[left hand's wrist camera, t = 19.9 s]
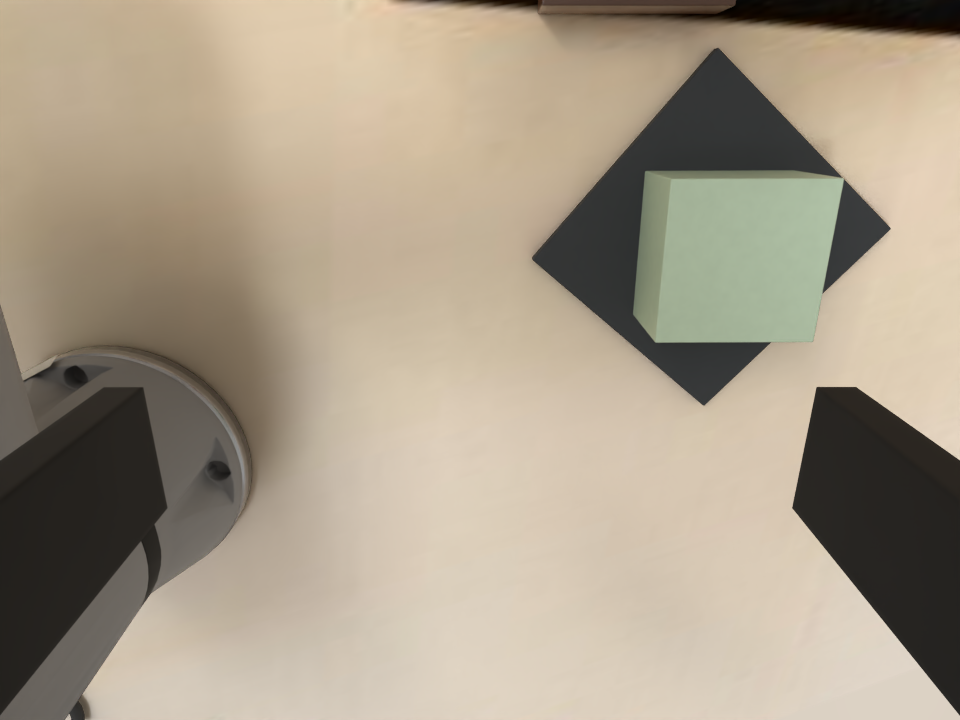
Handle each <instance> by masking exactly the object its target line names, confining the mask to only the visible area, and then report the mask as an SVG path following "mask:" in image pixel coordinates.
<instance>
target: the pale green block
mask: <svg viewBox="0 0 960 720" xmlns="http://www.w3.org/2000/svg"><path fill="white" fill-rule="evenodd" d="M843 182H844V178H840V177H833V176H827V175H821V174H814V173H808V172H801V171H795V170H751V171H645V178H644V190H643V202H642V214H641V226H640V237H639V249H638V261H637V273H636V285H635V297H634V309H633V315H634V316H635V318H636V319H637V320H638V321H639V323H640V324H641V325H642V326H643V328H644V329H645V330H646V331H647V333H648V334H649V335H650V336H651V338H652V339H653V340H654V342H656V343H678V342H813V340H814V334H815V329H816V324H817V319H818V313H819V308H820V303H821V298H822V292H823V287H824V282H825V277H826V271H827V266H828V261H829V256H830V250H831V245H832V240H833V235H834V229H835V224H836V219H837V214H838V209H839V203H840V198H841V193H842V188H843Z"/></svg>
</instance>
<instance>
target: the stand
mask: <svg viewBox="0 0 960 720" xmlns="http://www.w3.org/2000/svg"><path fill="white" fill-rule="evenodd" d="M735 3H736V0H538V14H717V13H719V12H721V11H724V10H726V9H728V8H730V7H732V6H735Z"/></svg>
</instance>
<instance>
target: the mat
mask: <svg viewBox="0 0 960 720" xmlns="http://www.w3.org/2000/svg"><path fill="white" fill-rule="evenodd" d="M751 170H795V171H801V172H808V173H814V174H821V175H827V176H833V177H840V178H842V177H841V176H840V175H839V174H838V173H837V172H836V171H835V170H834V168H833V167H832V166H831V165H830V164H829V163H828V162H827V161H826V160H825V159H824V158H823V157H822V156H821V155H820V154H819V153H818V152H817V151H816V150H815V149H814V148H813V147H812V145H811V144H810V143H809V142H808V141H807V140H806V139H805V138H804V137H803V136H802V135H801V134H800V133H799V132H798V131H797V130H796V129H795V128H794V127H793V126H792V125H791V124H790V122H789V121H788V120H787V119H786V118H785V117H784V116H783V115H782V114H781V113H780V112H779V111H778V110H777V109H776V108H775V107H774V106H773V105H772V104H771V103H770V102H769V101H768V99H767V98H766V97H765V96H764V95H763V94H762V93H761V92H760V91H759V90H758V89H757V88H756V87H755V86H754V85H753V84H752V83H751V82H750V81H749V80H748V79H747V78H746V76H745V75H744V74H743V73H742V72H741V71H740V70H739V69H738V68H737V67H736V66H735V65H734V64H733V63H732V62H731V61H730V60H729V59H728V58H727V57H726V56H725V55H724V53H723V52H722V51H721V50H720V49H719V48H717V49H714V50H713V51H712V52H711V53H710V54H709V56H708V57H707V58H706V59H705V60H704V61H703V62H702V64H701V65H700V66H699V67H698V68H697V69H696V70H695V72H694V73H693V74H692V75H691V76H690V77H689V78H688V80H687V81H686V82H685V83H684V84H683V85H682V86H681V88H680V89H679V90H678V91H677V92H676V93H675V95H674V96H673V97H672V98H671V99H670V100H669V101H668V103H667V104H666V105H665V106H664V107H663V108H662V109H661V111H660V112H659V113H658V114H657V115H656V116H655V117H654V119H653V120H652V121H651V122H650V123H649V124H648V125H647V127H646V128H645V129H644V130H643V131H642V132H641V133H640V135H639V136H638V137H637V138H636V139H635V140H634V141H633V143H632V144H631V145H630V146H629V147H628V148H627V149H626V151H625V152H624V153H623V154H622V155H621V156H620V157H619V159H618V160H617V161H616V162H615V163H614V164H613V165H612V167H611V168H610V169H609V170H608V171H607V172H606V173H605V175H604V176H603V177H602V178H601V179H600V180H599V181H598V183H597V184H596V185H595V186H594V187H593V188H592V189H591V191H590V192H589V193H588V194H587V195H586V196H585V197H584V199H583V200H582V201H581V202H580V203H579V204H578V205H577V207H576V208H575V209H574V210H573V211H572V212H571V213H570V215H569V216H568V217H567V218H566V219H565V220H564V222H563V223H562V224H561V225H560V226H559V227H558V228H557V230H556V231H555V232H554V233H553V234H552V235H551V236H550V238H549V239H548V240H547V241H546V242H545V243H544V244H543V246H542V247H541V248H540V249H539V250H538V251H537V252H536V254H535V255H534V256H533V257H532V259H533V261H535V262H536V263H537V264H538V265H539V266H540V267H542V268H543V269H544V270H545V271H546V272H548V273H549V274H550V275H551V276H552V277H553V278H555V279H556V280H557V281H558V282H559V283H560V284H562V285H563V286H564V287H565V288H566V289H567V290H569V291H570V292H571V293H572V294H573V295H574V296H576V297H577V298H578V299H579V300H580V301H582V302H583V303H584V304H585V305H586V306H587V307H589V308H590V309H591V310H592V311H593V312H594V313H596V314H597V315H598V316H599V317H600V318H601V319H603V320H604V321H605V322H606V323H607V324H608V325H610V326H611V327H612V328H613V329H614V330H616V331H617V332H618V333H619V334H620V335H621V336H623V337H624V338H625V339H626V340H627V341H628V342H630V343H631V344H632V345H633V346H634V347H635V348H637V349H638V350H639V351H640V352H641V353H642V354H644V355H645V356H646V357H647V358H648V359H650V360H651V361H652V362H653V363H654V364H655V365H657V366H658V367H659V368H660V369H661V370H662V371H664V372H665V373H666V374H667V375H668V376H669V377H671V378H672V379H673V380H674V381H675V382H677V383H678V384H679V385H680V386H681V387H682V388H684V389H685V390H686V391H687V392H688V393H689V394H691V395H692V396H693V397H694V398H695V399H696V400H698V401H699V402H700V403H701V404H702V405H705V404H706V403H707V402H708V401H709V400H711V399H712V398H713V397H714V396H715V395H716V394H717V393H718V392H719V391H720V390H721V389H722V388H723V387H724V386H725V385H726V384H727V383H728V382H730V381H731V380H732V379H733V378H734V377H735V376H736V375H737V374H738V373H739V372H740V371H741V370H742V369H743V368H744V367H745V366H746V365H748V364H749V363H750V362H751V361H752V360H753V359H754V358H755V357H756V356H757V355H758V354H759V353H760V352H761V351H762V350H763V349H764V348H765V347H767V346H768V345H769V344H770V343H771V342H678V343H656V342H654V340H653V339H652V338H651V336H650V335H649V334H648V333H647V331H646V330H645V329H644V328H643V326H642V325H641V324H640V323H639V321H638V320H637V319H636V318H635V316H634V315H633V309H634V297H635V285H636V273H637V261H638V249H639V237H640V226H641V214H642V202H643V190H644V178H645V171H751ZM890 229H891V228H890V227H889V226H888V225H887V224H886V223H885V222H884V221H883V220H882V219H881V218H880V217H879V216H878V214H877V213H876V212H875V211H874V210H873V209H872V208H871V207H870V206H869V205H868V204H867V203H866V202H865V201H864V200H863V199H862V198H861V197H860V196H859V195H858V194H857V193H856V191H855V190H854V189H853V188H852V187H851V186H850V185H849V184H848V183H847V182H846V181H845V180H844V182H843V188H842V193H841V198H840V203H839V209H838V214H837V219H836V224H835V229H834V235H833V240H832V245H831V250H830V256H829V261H828V266H827V271H826V277H825V282H824V287H823V292H822V294H823V293H824V292H825V291H826V290H827V289H828V288H829V287H830V286H831V285H832V284H833V283H834V282H835V281H836V280H837V279H838V278H839V277H840V276H842V275H843V274H844V273H845V272H846V271H847V270H848V269H849V268H850V267H851V266H852V265H853V264H854V263H855V262H856V261H857V260H858V259H860V258H861V257H862V256H863V255H864V254H865V253H866V252H867V251H868V250H869V249H870V248H871V247H872V246H873V245H874V244H875V243H876V242H877V241H879V240H880V239H881V238H882V237H883V236H884V235H885V234H886V233H887V232H888V231H889V230H890Z"/></svg>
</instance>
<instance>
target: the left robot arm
mask: <svg viewBox="0 0 960 720" xmlns="http://www.w3.org/2000/svg"><path fill="white" fill-rule="evenodd" d="M57 355H58V354H57ZM57 355H55V356H53V357H52V358H50V359H48V360H46V361H44V362H42V363H40V364H39V365H37V366H35V367H33V368H31V369H29V370H27V371H25V372H24V373H22V374H21V372H20V369H19V366H18V362H17V359H16V356H15V352H14V349H13V346H12V342H11V339H10V336H9V332H8V329H7V326H6V322H5V319H4V316H3V312H2V309H1V306H0V720H65V719H66V717H67V716H68V714H70V716H71V720H84V711H83V709H82V706H81V704H80V703H79V701H78V700H79V698H80V697H81V695H82V694H83V692H84V691H85V689H86V688H87V686H88V685H89V683H90V682H91V680H92V679H93V677H94V676H95V674H96V673H97V672H98V670H99V669H100V667H101V666H102V664H103V663H104V661H105V660H106V658H107V657H108V655H109V654H110V652H111V651H112V649H113V648H114V646H115V645H116V643H117V642H118V640H119V639H120V637H121V636H122V635H123V633H124V632H125V630H126V629H127V627H128V626H129V624H130V623H131V621H132V620H133V618H134V617H135V615H136V614H137V612H138V611H139V609H140V608H141V607H142V605H143V604H144V602H145V601H146V599H147V598H148V597H149V595H150V594H151V593H152V592H153V591H155V590H156V589H158V588H159V587H161V586H162V585H164V584H165V583H167V582H168V581H170V580H171V579H173V578H174V577H176V576H177V575H179V574H180V573H181V572H183V571H184V570H186V569H187V568H189V567H190V566H192V565H193V564H195V563H196V562H198V561H199V560H201V559H202V558H203V557H205V556H206V555H207V554H209V553H210V552H211V551H212V550H213V549H214V548H215V547H216V546H218V545H219V544H220V543H221V541H222V540H223V539H224V538H225V537H226V536H227V534H228V533H229V532H230V530H231V529H232V527H233V525H234V524H235V522H236V520H237V519H238V517H239V515H240V514H241V512H242V510H243V508H244V506H245V504H246V501H247V499H248V495H249V492H250V486H251V479H252V466H251V457H250V452H249V448H248V444H247V441H246V438H245V436H244V433H243V431H242V428H241V427H240V425H239V423H238V421H237V419H236V417H235V416H234V414H233V413H232V411H231V410H230V408H229V407H228V406H227V405H226V403H225V402H224V401H223V400H222V398H221V397H220V396H219V395H218V394H217V393H216V392H215V391H214V390H213V389H212V388H211V387H210V386H209V385H207V384H206V383H205V382H204V381H203V380H201V379H200V378H199V377H197V376H196V375H195V374H193V373H192V372H190V371H189V370H187V369H185V368H184V367H182V366H180V365H178V364H176V363H174V362H173V361H171V360H168V359H166V358H163V357H161V356H159V355H156V354H153V353H149V352H146V351H142V350H138V349H134V348H127V347H120V346H94V347H86V348H81V349H76V350H72V351H69V352H66V353H64V354H61V355H59V356H57ZM792 508H793V509H794V511H795V512H796V513H797V514H798V516H799V517H800V518H801V519H802V521H803V522H804V523H805V524H806V526H807V527H808V528H809V529H810V531H811V532H812V533H813V534H814V535H815V537H816V538H817V539H818V540H819V542H820V543H821V544H822V545H823V547H824V548H825V549H826V550H827V552H828V553H829V554H830V555H831V557H832V558H833V559H834V560H835V561H836V563H837V564H838V565H839V566H840V568H841V569H842V570H843V571H844V573H845V574H846V575H847V576H848V578H849V579H850V580H851V581H852V583H853V584H854V585H855V586H856V587H857V589H858V590H859V591H860V592H861V594H862V595H863V596H864V597H865V599H866V600H867V601H868V602H869V604H870V605H871V606H872V607H873V609H874V610H875V611H876V612H877V613H878V615H879V616H880V617H881V618H882V620H883V621H884V622H885V623H886V625H887V626H888V627H889V628H890V630H891V631H892V632H893V633H894V635H895V636H896V637H897V638H898V639H899V641H900V642H901V643H902V644H903V646H904V647H905V648H906V649H907V651H908V652H909V653H910V654H911V656H912V657H913V658H914V659H915V661H916V662H917V663H918V664H919V665H920V667H921V668H922V669H923V670H924V672H925V673H926V674H927V675H928V677H929V678H930V679H931V680H932V682H933V683H934V684H935V685H936V687H937V688H938V689H939V690H940V691H941V693H942V694H943V695H944V696H945V698H946V699H947V700H948V701H949V703H950V704H951V705H952V706H953V708H954V709H955V710H956V711H957V713H958V714H959V715H960V460H958V459H957V458H956V457H954V456H953V455H951V454H950V453H948V452H947V451H946V450H944V449H943V448H941V447H940V446H939V445H937V444H936V443H934V442H933V441H931V440H930V439H929V438H927V437H926V436H924V435H923V434H922V433H920V432H919V431H917V430H916V429H915V428H913V427H912V426H910V425H909V424H907V423H906V422H905V421H903V420H902V419H900V418H899V417H898V416H896V415H895V414H893V413H892V412H890V411H889V410H888V409H886V408H885V407H883V406H882V405H881V404H879V403H878V402H876V401H875V400H873V399H872V398H871V397H869V396H868V395H866V394H865V393H864V392H862V391H861V390H859V389H858V388H857V387H817V388H816V393H815V398H814V403H813V408H812V413H811V418H810V423H809V428H808V433H807V438H806V443H805V448H804V453H803V458H802V463H801V468H800V473H799V477H798V482H797V487H796V492H795V497H794V502H793V507H792Z"/></svg>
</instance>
